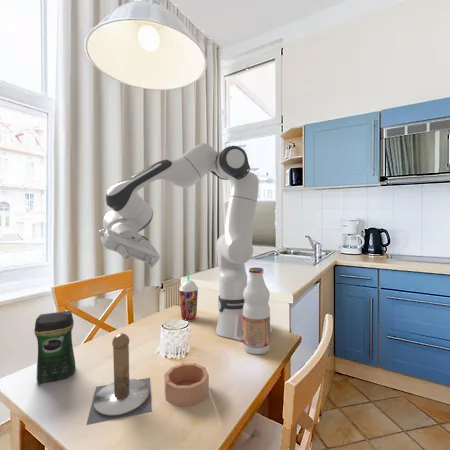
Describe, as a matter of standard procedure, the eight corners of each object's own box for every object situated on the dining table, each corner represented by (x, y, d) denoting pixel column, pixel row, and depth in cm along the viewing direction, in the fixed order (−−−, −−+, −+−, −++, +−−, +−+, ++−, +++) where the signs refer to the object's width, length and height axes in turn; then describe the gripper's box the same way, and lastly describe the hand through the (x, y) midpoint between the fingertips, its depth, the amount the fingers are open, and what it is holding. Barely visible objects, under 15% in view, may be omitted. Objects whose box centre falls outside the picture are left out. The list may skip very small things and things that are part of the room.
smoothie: (197, 322, 120) (196, 276, 119) (177, 322, 120) (177, 276, 119) (199, 315, 128) (198, 272, 127) (181, 315, 129) (180, 272, 128)
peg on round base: (148, 378, 78) (147, 321, 78) (149, 410, 66) (148, 342, 65) (97, 387, 75) (96, 327, 74) (89, 422, 62) (87, 350, 61)
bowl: (202, 377, 80) (202, 360, 80) (212, 403, 69) (212, 384, 69) (163, 384, 77) (163, 366, 77) (167, 412, 66) (166, 392, 66)
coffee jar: (77, 365, 86) (75, 306, 86) (73, 379, 79) (71, 315, 78) (40, 372, 83) (38, 310, 82) (33, 387, 76) (30, 320, 75)
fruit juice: (252, 358, 91) (252, 272, 89) (237, 346, 99) (237, 267, 98) (275, 350, 95) (275, 269, 94) (259, 339, 103) (259, 265, 102)
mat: (150, 379, 79) (150, 377, 79) (151, 413, 66) (151, 411, 66) (96, 388, 75) (96, 386, 75) (86, 427, 62) (86, 424, 62)
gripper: (103, 220, 87) (116, 241, 78) (153, 241, 102) (169, 261, 92) (92, 236, 88) (103, 259, 78) (143, 255, 102) (159, 277, 93)
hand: (140, 261), depth 85 cm, fingers open, 8 cm apart
